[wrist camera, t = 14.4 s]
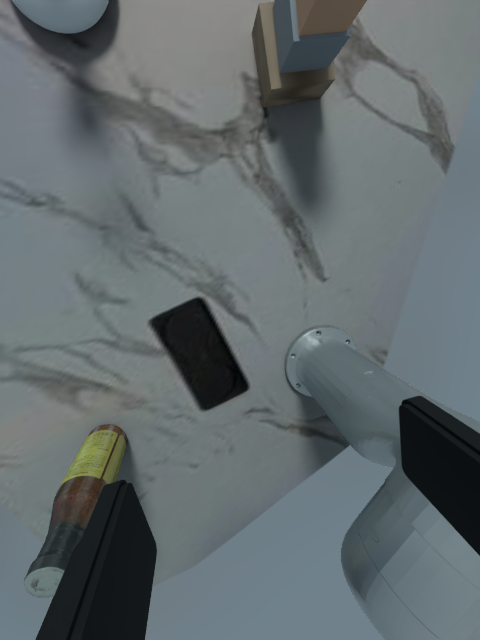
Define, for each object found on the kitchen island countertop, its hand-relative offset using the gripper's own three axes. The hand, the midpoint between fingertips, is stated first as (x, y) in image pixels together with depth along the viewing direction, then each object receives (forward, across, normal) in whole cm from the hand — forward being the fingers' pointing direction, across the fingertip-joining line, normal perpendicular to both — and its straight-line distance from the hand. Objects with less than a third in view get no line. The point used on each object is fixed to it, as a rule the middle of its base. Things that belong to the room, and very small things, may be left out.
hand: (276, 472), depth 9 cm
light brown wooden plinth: (+34, -16, -28) cm, 46 cm away
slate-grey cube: (+29, -16, -28) cm, 44 cm away
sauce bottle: (+34, +22, +18) cm, 44 cm away
